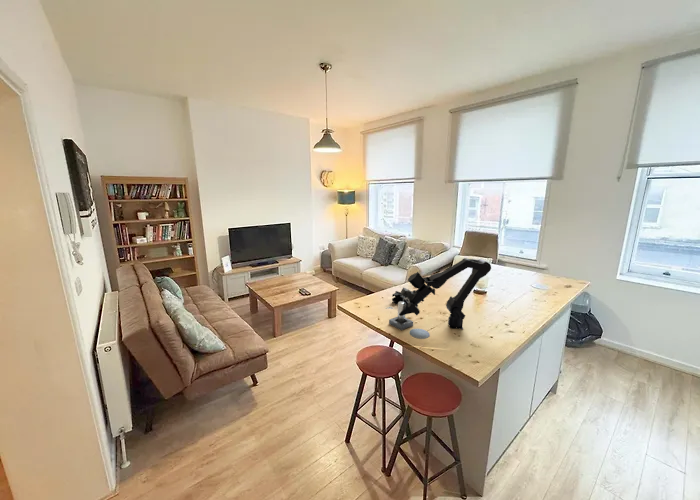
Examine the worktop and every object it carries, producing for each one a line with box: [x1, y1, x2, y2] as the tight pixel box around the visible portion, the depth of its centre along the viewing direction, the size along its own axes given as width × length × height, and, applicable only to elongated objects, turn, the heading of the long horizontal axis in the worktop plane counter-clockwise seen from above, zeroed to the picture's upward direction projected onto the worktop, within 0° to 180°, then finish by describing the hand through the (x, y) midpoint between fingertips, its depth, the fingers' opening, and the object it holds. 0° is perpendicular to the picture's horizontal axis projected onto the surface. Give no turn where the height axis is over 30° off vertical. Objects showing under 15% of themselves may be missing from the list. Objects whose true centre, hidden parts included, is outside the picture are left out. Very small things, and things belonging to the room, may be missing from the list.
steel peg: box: [396, 301, 406, 324], centre depth 151 cm, size 4×4×12 cm
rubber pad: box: [409, 328, 431, 340], centre depth 144 cm, size 10×10×1 cm
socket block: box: [388, 316, 414, 331], centre depth 152 cm, size 9×9×3 cm
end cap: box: [391, 290, 405, 306], centre depth 182 cm, size 10×7×7 cm
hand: (398, 313), depth 151 cm, fingers closed on steel peg, 4 cm apart
